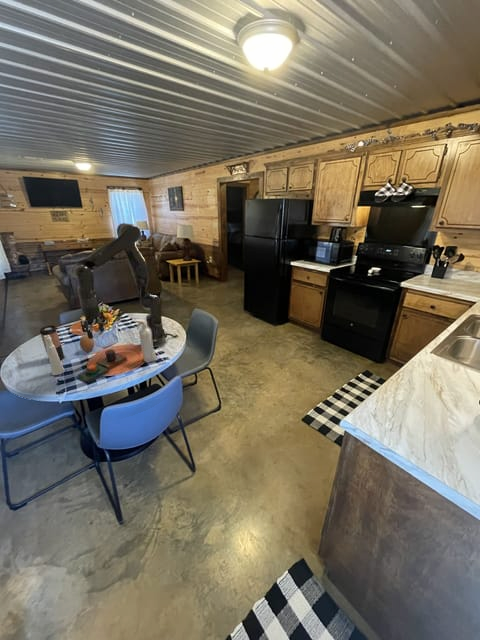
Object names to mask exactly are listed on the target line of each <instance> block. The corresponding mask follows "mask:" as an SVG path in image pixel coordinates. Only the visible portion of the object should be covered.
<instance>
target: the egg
mask: <svg viewBox="0 0 480 640" xmlns="http://www.w3.org/2000/svg"><path fill="white" fill-rule="evenodd" d="M79 347H80V349H81V350H82V351H83V352H86V353H89V352H91V351H93V349H94V348H95V341H94V338H92V339H89V338H88V335H87V334H84V335H82V336H81V337H80V339H79Z"/></svg>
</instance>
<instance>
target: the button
mask: <svg viewBox="0 0 480 640" xmlns="http://www.w3.org/2000/svg"><path fill="white" fill-rule="evenodd" d="M95 365H96V364H90V365H89V366H87V368H88V371H93V370H95V369H96V366H95Z"/></svg>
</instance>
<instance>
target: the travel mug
mask: <svg viewBox="0 0 480 640" xmlns="http://www.w3.org/2000/svg"><path fill="white" fill-rule="evenodd" d="M39 334H40V337H41V339H42V342H43V346H44V349H45V352H46V354H47V355H48V353H47V349H46V343H45V340H44V338H45V337H44V336H45V335H50V337H51V340H52V343H53V345H54V346H55V348H56V351H57V353H58V356H59V359H60V361H62V360H64V359H65V355H64V350H63V347H62V346H63V345H62V342H61V339H60V337H59V333H58V329H57V326H56V325H45V326H43V327H40V329H39Z"/></svg>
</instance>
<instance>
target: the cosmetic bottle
mask: <svg viewBox="0 0 480 640" xmlns="http://www.w3.org/2000/svg"><path fill="white" fill-rule="evenodd" d="M44 337H45V338H44V340H45V343H46V349H47V352H46V354H47V353H48V354H47V357H48V360H49V365H50V370H51V371H50V372H51V375H52V376H59V375H62V374H63V373H65V372H66V370H65V368H64V366H63V363H62V362H61V361H62V360H61V361H60V359H59V356H58V353H57V351H56V348H55V346H54V345H53V343H52V340H51V337H50V335H45V336H44ZM46 349H45V350H46Z"/></svg>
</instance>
